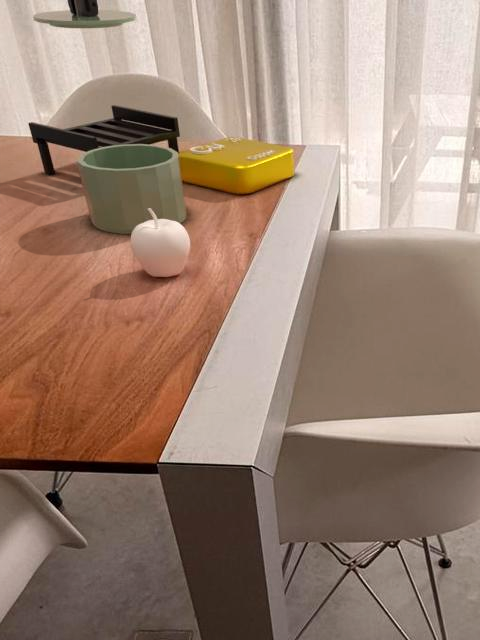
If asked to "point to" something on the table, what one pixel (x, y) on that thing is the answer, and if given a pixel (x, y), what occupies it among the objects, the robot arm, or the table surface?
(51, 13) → the lid
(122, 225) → the pot
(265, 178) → the element tile
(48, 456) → the table surface
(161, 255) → the apple
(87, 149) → the rack
